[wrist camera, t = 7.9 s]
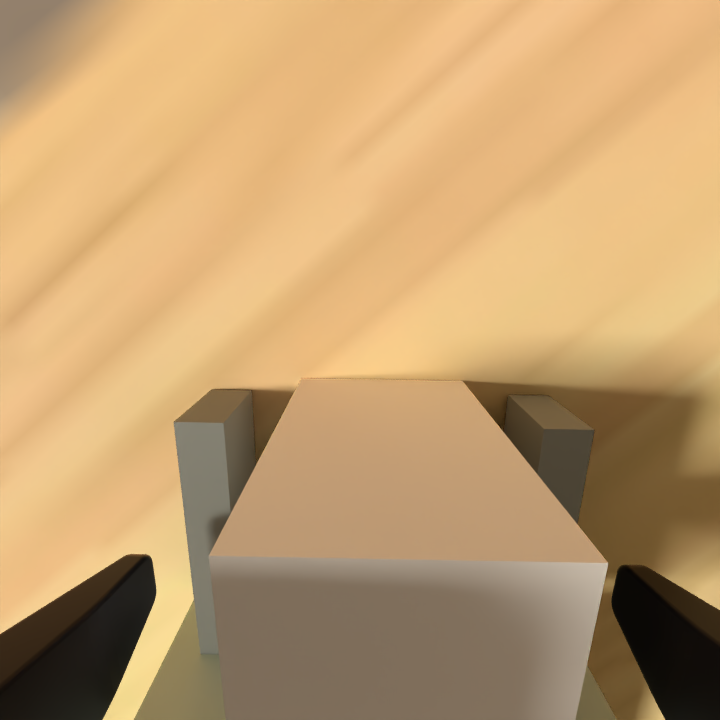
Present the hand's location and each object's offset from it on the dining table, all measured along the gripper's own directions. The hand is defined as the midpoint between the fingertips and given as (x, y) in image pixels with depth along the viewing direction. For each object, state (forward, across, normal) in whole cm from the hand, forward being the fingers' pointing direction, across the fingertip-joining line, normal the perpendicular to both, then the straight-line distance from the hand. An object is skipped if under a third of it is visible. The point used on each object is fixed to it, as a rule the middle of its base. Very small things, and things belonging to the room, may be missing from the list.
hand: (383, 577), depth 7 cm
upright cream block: (+3, 0, 0) cm, 3 cm away
